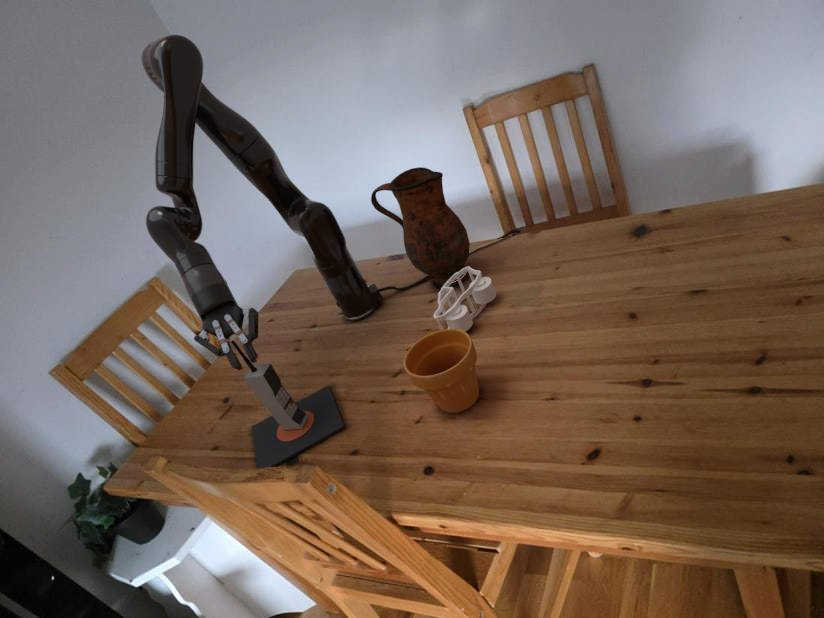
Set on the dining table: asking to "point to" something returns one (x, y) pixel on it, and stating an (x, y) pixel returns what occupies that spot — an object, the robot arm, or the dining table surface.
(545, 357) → the dining table surface
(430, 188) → the pitcher
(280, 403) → the vintage mobile phone
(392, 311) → the dining table surface
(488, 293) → the skeletal toy car
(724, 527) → the dining table surface
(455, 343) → the flower pot
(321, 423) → the mat
